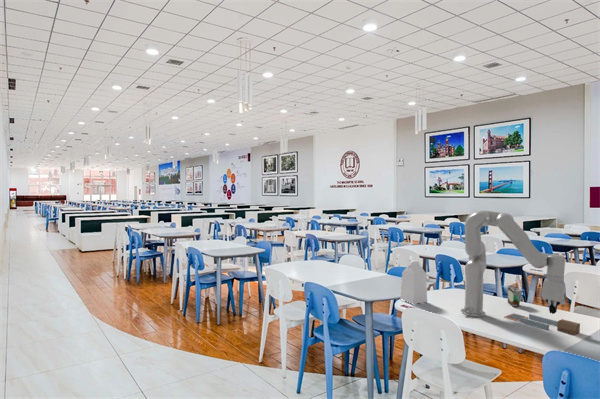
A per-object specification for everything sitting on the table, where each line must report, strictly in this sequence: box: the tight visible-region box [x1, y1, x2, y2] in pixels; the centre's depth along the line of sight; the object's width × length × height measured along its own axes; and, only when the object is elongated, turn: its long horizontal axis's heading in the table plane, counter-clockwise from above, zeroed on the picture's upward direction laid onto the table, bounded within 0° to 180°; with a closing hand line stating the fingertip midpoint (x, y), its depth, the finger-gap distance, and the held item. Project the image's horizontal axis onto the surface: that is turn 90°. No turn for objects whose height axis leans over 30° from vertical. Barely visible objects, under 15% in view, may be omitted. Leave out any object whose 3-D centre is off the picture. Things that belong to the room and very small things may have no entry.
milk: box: [399, 260, 428, 305], centre depth 247 cm, size 12×12×26 cm
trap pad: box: [503, 312, 529, 322], centre depth 218 cm, size 11×8×1 cm
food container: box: [506, 286, 522, 308], centre depth 241 cm, size 12×6×10 cm, turn 168°
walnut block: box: [556, 318, 581, 336], centre depth 197 cm, size 6×8×5 cm
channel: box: [519, 313, 557, 331], centre depth 208 cm, size 11×14×2 cm
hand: (552, 312), depth 202 cm, fingers closed
